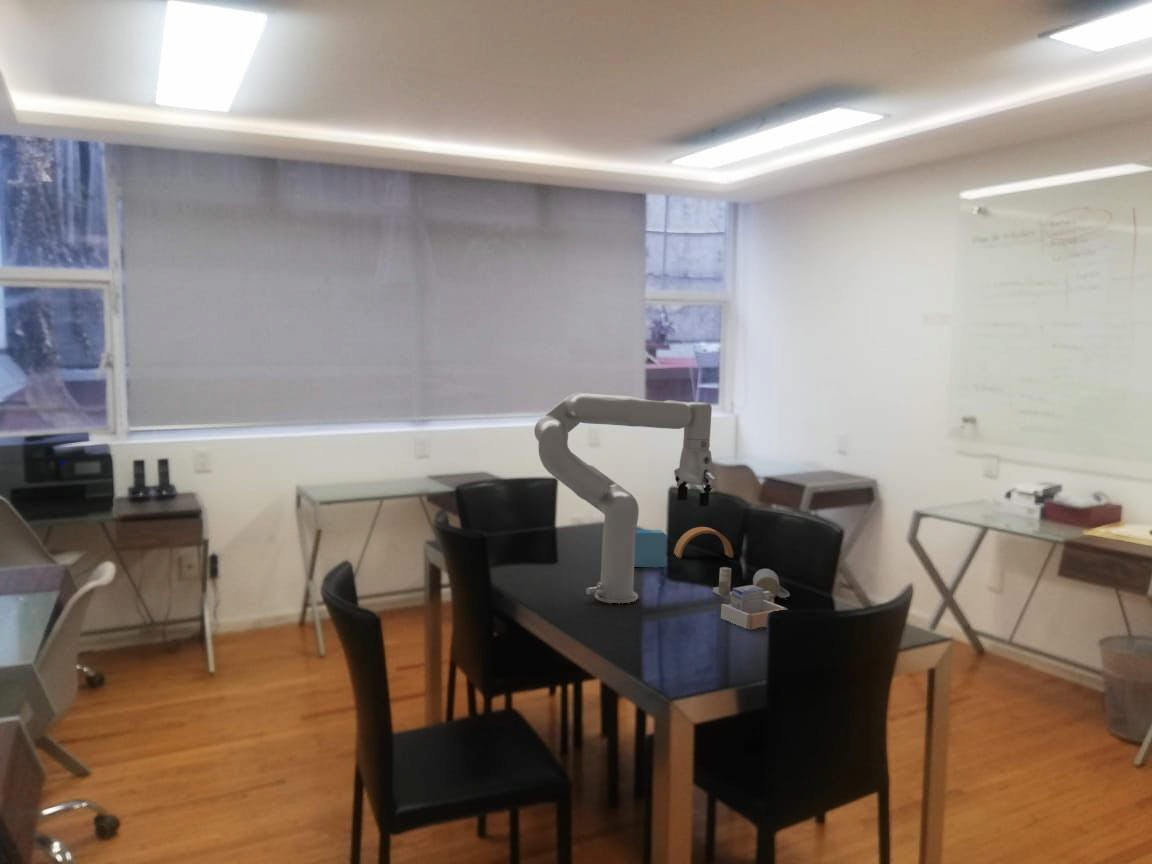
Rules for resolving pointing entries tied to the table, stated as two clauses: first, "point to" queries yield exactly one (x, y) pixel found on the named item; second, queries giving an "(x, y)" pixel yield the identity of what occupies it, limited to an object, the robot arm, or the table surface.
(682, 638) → the table surface
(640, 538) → the data package
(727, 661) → the table surface
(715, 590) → the guide rail
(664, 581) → the table surface
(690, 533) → the arch
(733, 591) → the medicine box
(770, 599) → the crank handle
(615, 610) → the table surface
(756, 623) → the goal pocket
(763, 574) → the ceramic mug
